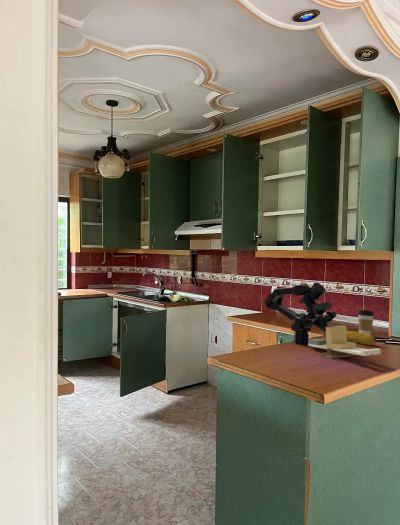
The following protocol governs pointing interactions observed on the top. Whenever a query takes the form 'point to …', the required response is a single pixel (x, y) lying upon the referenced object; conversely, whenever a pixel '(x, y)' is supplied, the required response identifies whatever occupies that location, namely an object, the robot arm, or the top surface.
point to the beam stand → (336, 354)
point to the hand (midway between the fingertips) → (327, 332)
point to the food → (360, 338)
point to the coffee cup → (365, 321)
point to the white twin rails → (358, 351)
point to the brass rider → (338, 338)
